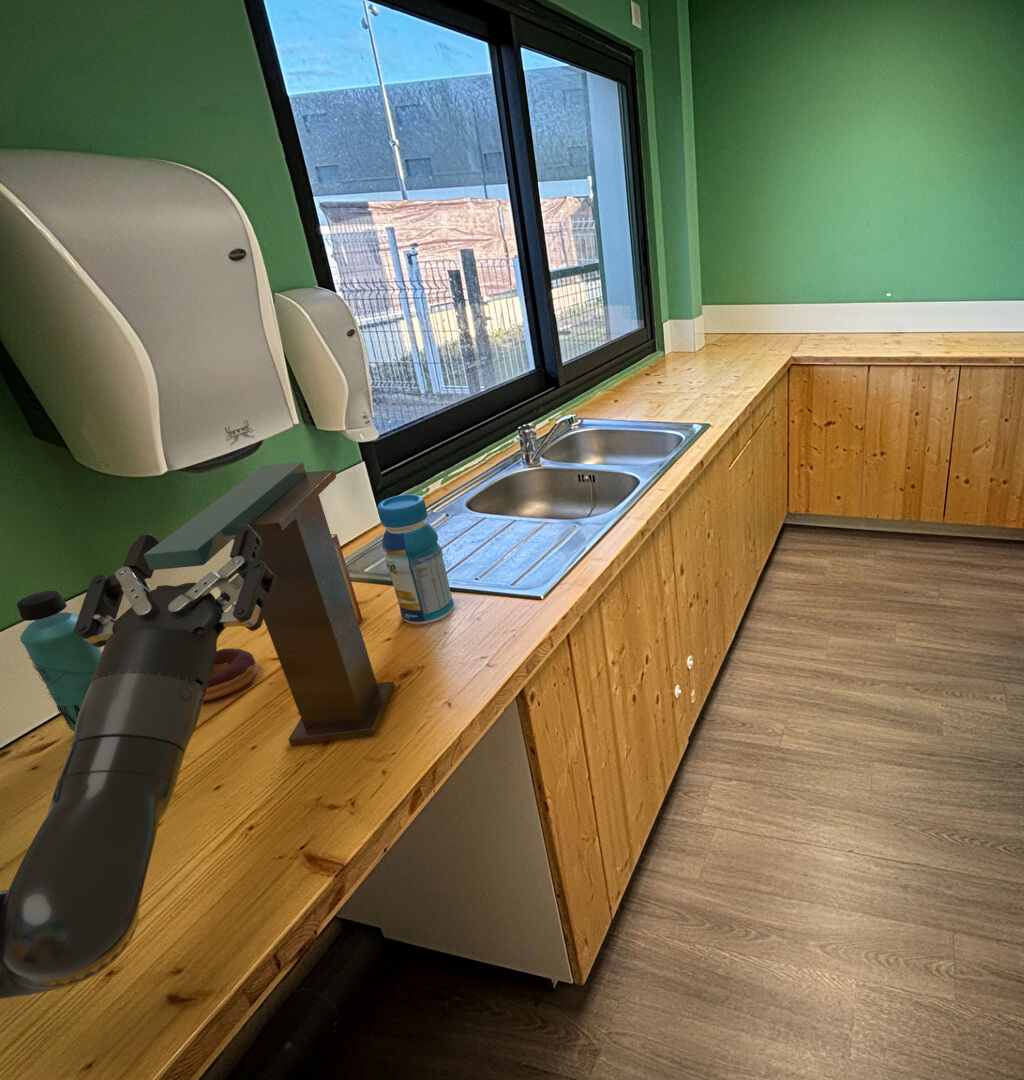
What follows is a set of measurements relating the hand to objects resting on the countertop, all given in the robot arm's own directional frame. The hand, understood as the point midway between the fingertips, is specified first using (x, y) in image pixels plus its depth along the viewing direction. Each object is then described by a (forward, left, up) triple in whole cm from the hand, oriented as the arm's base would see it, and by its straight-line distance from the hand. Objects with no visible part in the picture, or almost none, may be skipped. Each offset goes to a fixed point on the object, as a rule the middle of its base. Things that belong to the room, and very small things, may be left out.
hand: (201, 534), depth 66 cm
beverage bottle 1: (-36, +3, -33) cm, 49 cm away
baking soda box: (-23, +28, -33) cm, 49 cm away
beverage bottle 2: (-12, +38, -33) cm, 52 cm away
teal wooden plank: (-3, +6, -1) cm, 7 cm away
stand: (-5, +11, -33) cm, 35 cm away
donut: (-29, +14, -33) cm, 46 cm away
